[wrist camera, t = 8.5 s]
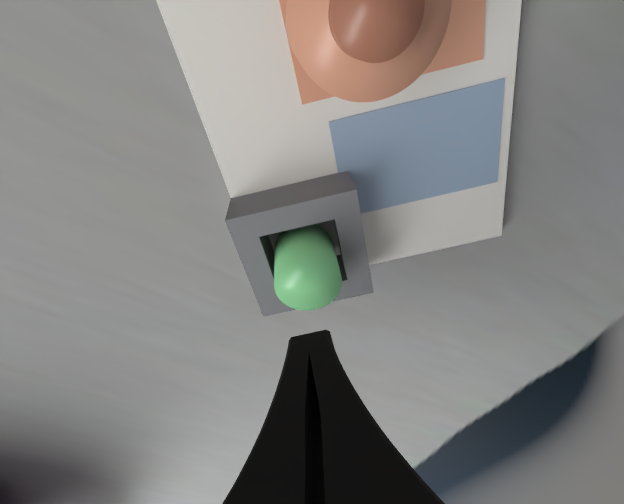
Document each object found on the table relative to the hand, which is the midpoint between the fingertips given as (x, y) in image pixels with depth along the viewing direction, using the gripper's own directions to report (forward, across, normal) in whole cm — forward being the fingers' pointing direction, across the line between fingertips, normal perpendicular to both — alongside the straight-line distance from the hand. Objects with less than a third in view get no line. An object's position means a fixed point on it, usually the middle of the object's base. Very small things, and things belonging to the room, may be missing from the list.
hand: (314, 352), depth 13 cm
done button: (+7, 0, 0) cm, 7 cm away
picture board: (+9, -4, -5) cm, 11 cm away
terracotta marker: (+8, -4, -9) cm, 13 cm away
